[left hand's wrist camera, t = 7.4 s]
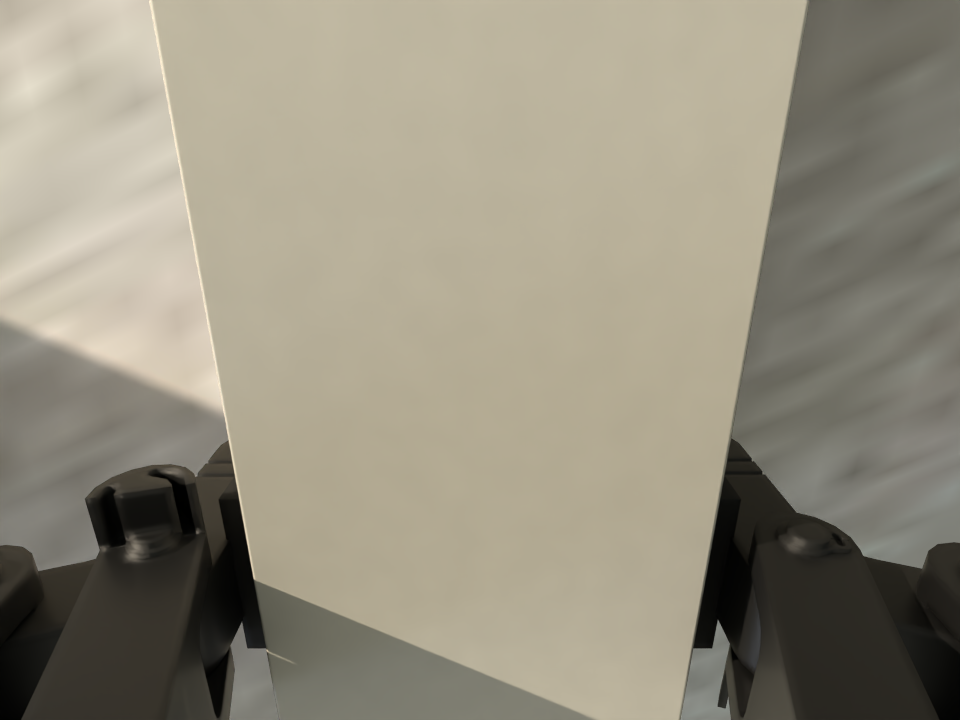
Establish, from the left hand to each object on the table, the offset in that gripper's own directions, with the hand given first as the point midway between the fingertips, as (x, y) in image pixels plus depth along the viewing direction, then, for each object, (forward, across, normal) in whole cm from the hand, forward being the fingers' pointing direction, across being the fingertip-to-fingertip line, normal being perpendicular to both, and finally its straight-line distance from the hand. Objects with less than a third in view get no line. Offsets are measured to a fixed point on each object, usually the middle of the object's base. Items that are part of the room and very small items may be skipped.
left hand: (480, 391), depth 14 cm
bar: (+1, 0, -34) cm, 34 cm away
